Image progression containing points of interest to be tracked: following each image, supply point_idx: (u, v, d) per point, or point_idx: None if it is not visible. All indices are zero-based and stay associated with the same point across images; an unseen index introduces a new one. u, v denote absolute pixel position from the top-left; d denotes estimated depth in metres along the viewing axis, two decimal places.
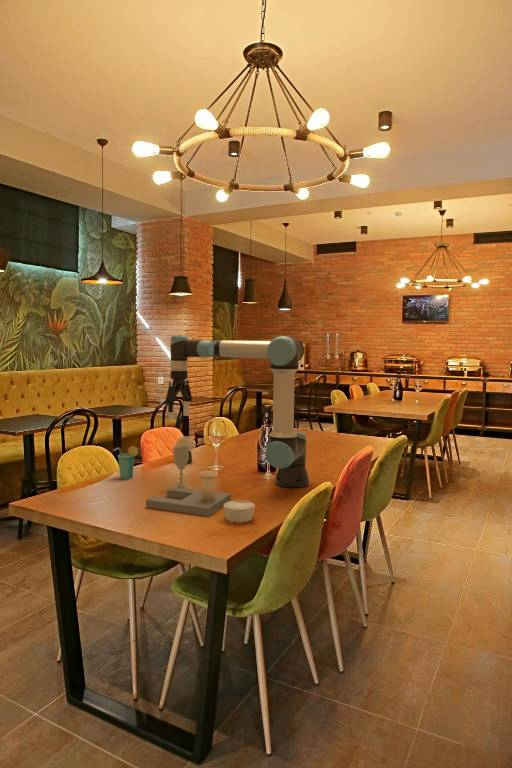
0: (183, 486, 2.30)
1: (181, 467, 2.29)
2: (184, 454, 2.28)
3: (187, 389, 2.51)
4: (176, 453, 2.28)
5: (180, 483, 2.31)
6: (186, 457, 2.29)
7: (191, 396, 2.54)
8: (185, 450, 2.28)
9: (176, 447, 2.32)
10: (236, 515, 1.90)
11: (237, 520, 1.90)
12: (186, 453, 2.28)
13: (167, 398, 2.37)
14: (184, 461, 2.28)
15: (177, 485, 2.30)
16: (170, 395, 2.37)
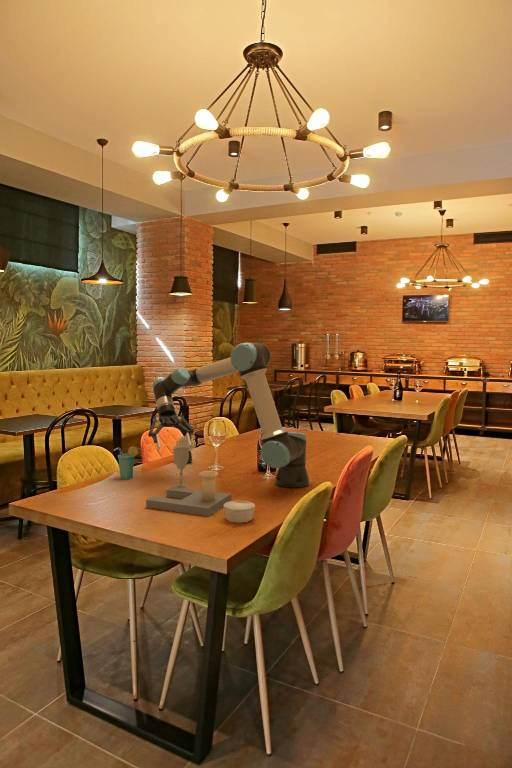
0: (183, 486, 2.30)
1: (181, 467, 2.29)
2: (184, 454, 2.28)
3: (184, 423, 2.47)
4: (176, 453, 2.28)
5: (180, 483, 2.31)
6: (186, 457, 2.29)
7: (192, 428, 2.45)
8: (185, 450, 2.28)
9: (176, 447, 2.32)
10: (236, 515, 1.90)
11: (237, 520, 1.90)
12: (186, 453, 2.28)
13: None
14: (184, 461, 2.28)
15: (177, 485, 2.30)
16: None
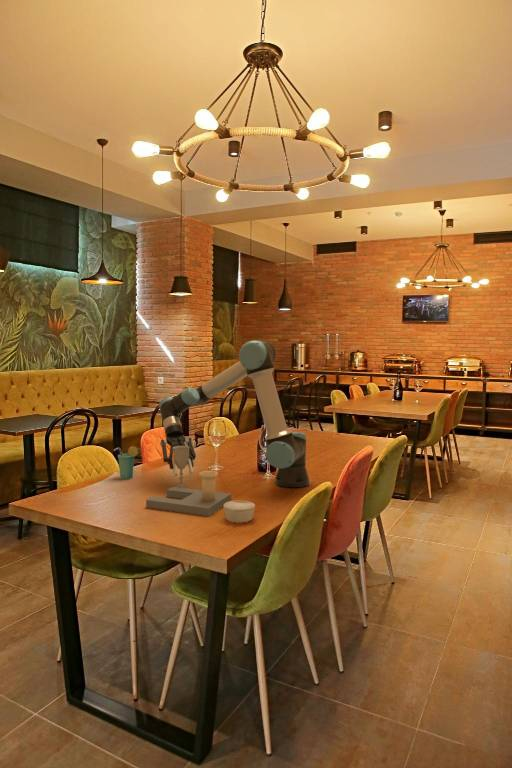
0: (183, 486, 2.30)
1: (181, 467, 2.29)
2: (184, 454, 2.28)
3: (189, 446, 2.37)
4: (176, 453, 2.28)
5: (180, 483, 2.31)
6: (186, 457, 2.29)
7: (195, 454, 2.34)
8: (185, 450, 2.28)
9: (176, 447, 2.32)
10: (236, 515, 1.90)
11: (237, 520, 1.90)
12: (186, 453, 2.28)
13: (163, 457, 2.31)
14: (184, 461, 2.28)
15: (177, 485, 2.30)
16: (163, 452, 2.31)
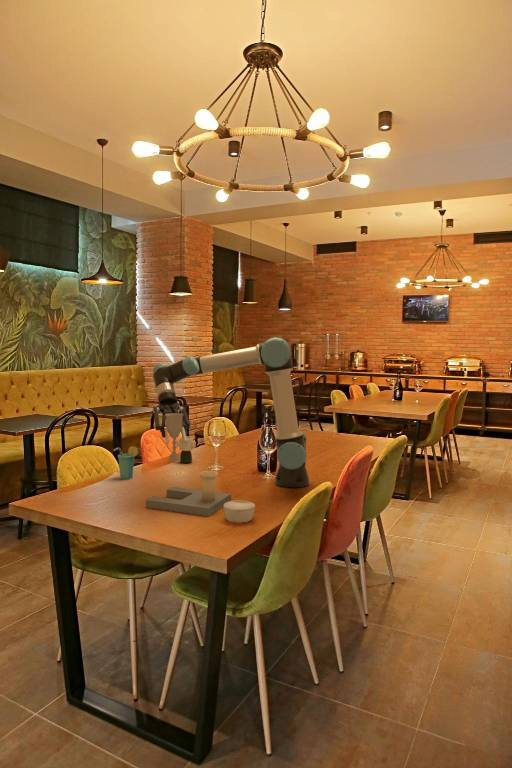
0: (176, 456, 2.14)
1: (174, 436, 2.13)
2: (177, 421, 2.12)
3: None
4: (168, 421, 2.12)
5: (173, 453, 2.15)
6: (179, 425, 2.13)
7: (189, 422, 2.19)
8: (178, 417, 2.12)
9: (169, 414, 2.16)
10: (236, 515, 1.90)
11: (237, 520, 1.90)
12: (179, 420, 2.13)
13: (155, 424, 2.15)
14: (177, 429, 2.13)
15: (170, 455, 2.15)
16: (155, 420, 2.15)
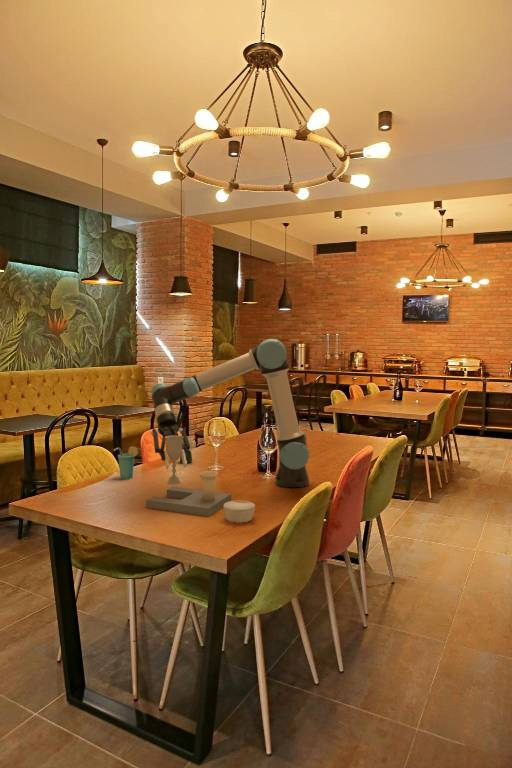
0: (176, 479, 2.11)
1: (174, 458, 2.10)
2: (177, 444, 2.09)
3: (183, 436, 2.18)
4: (168, 443, 2.09)
5: (173, 476, 2.12)
6: (179, 448, 2.10)
7: (189, 444, 2.15)
8: (178, 439, 2.09)
9: (169, 437, 2.13)
10: (236, 515, 1.90)
11: (237, 520, 1.90)
12: (179, 443, 2.10)
13: (154, 447, 2.12)
14: (177, 452, 2.09)
15: (169, 478, 2.12)
16: (155, 442, 2.12)
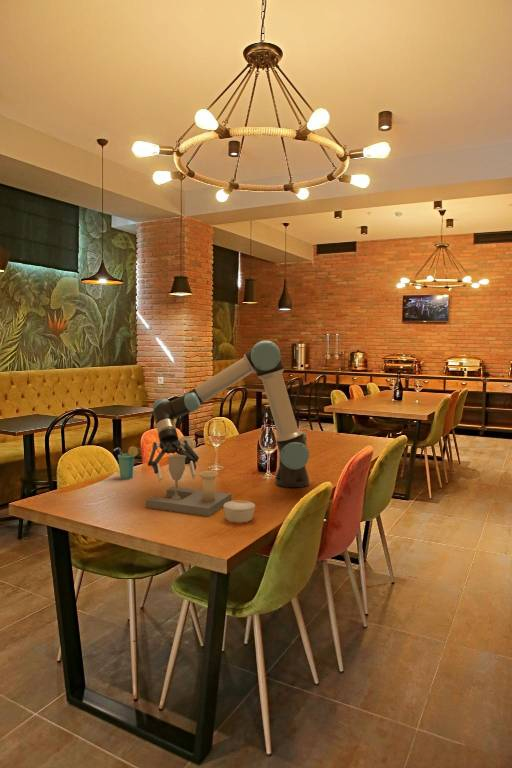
0: (178, 499, 2.12)
1: (176, 478, 2.11)
2: (180, 464, 2.10)
3: (188, 449, 2.19)
4: (171, 463, 2.10)
5: (175, 495, 2.12)
6: (182, 467, 2.11)
7: (196, 455, 2.18)
8: (181, 459, 2.10)
9: (171, 456, 2.14)
10: (236, 515, 1.90)
11: (237, 520, 1.90)
12: (182, 463, 2.11)
13: None
14: (180, 471, 2.10)
15: (172, 497, 2.12)
16: None
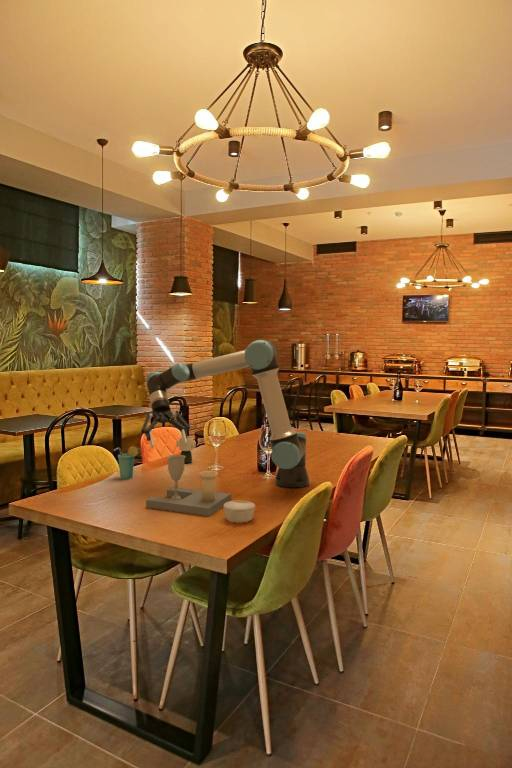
0: (178, 499, 2.12)
1: (176, 478, 2.11)
2: (179, 464, 2.10)
3: (179, 419, 2.31)
4: (170, 463, 2.09)
5: (175, 495, 2.12)
6: (181, 467, 2.10)
7: (188, 425, 2.30)
8: (181, 459, 2.09)
9: (171, 456, 2.14)
10: (236, 515, 1.90)
11: (237, 520, 1.90)
12: (181, 463, 2.10)
13: None
14: (179, 472, 2.10)
15: (172, 498, 2.12)
16: None
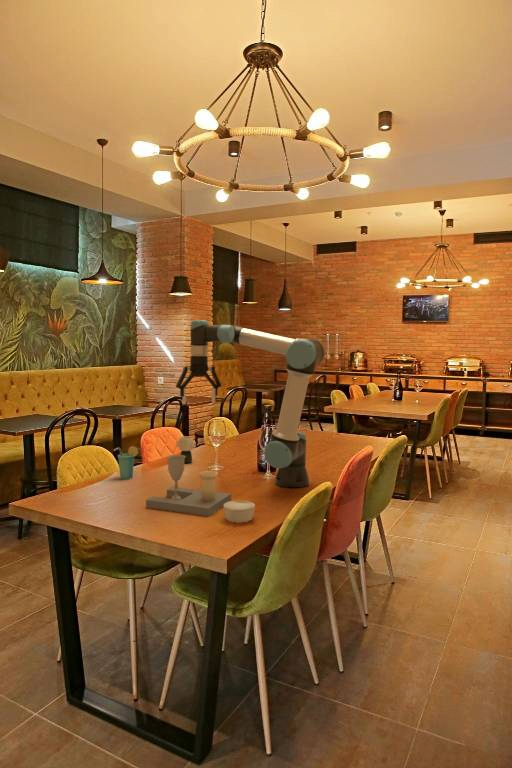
0: (178, 499, 2.12)
1: (176, 478, 2.11)
2: (179, 464, 2.10)
3: (213, 376, 2.45)
4: (170, 463, 2.09)
5: (175, 495, 2.12)
6: (181, 467, 2.10)
7: (220, 383, 2.45)
8: (181, 459, 2.09)
9: (171, 456, 2.14)
10: (236, 515, 1.90)
11: (237, 520, 1.90)
12: (181, 463, 2.10)
13: (178, 382, 2.39)
14: (179, 472, 2.10)
15: (172, 498, 2.12)
16: (180, 379, 2.38)
